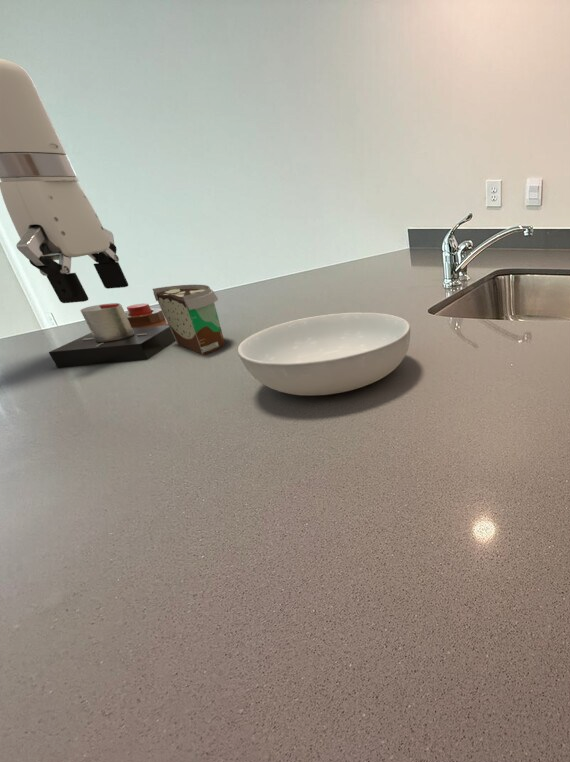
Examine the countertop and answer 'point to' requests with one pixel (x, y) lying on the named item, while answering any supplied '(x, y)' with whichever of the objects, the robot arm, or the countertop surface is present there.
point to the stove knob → (107, 322)
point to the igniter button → (139, 309)
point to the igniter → (148, 319)
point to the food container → (191, 316)
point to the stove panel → (113, 348)
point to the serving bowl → (326, 352)
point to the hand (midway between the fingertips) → (97, 294)
